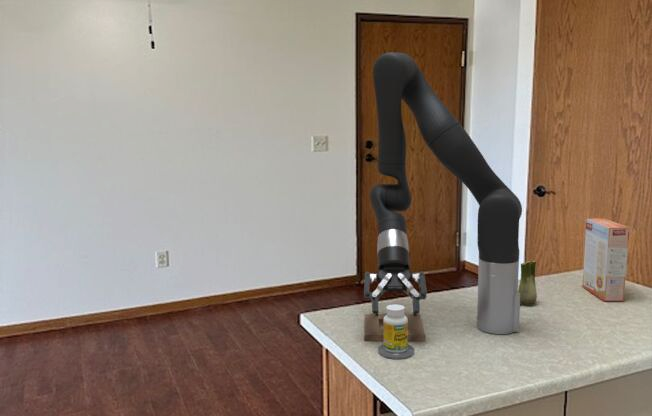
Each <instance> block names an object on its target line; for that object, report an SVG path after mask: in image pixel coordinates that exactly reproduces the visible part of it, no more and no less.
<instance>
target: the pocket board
mask: <svg viewBox="0 0 652 416" xmlns="http://www.w3.org/2000/svg"><path fill="white" fill-rule="evenodd" d="M386 315H387V313H379V314H378V316H375V314H373V313H364V329H363V330H364V332H363V333H364V337H363V338H364V339H363V340H364V342H384V330H383V329H380V325H381V326H382V325H383V319H384V317H385V316H386ZM404 315H405V316H406V317H407V319H408V342H426V332H425V328H424V324H423V320H422V316H421V314H420V313H419V314H417V316H413V313H411V314H410V313H404Z"/></svg>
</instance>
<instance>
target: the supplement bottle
mask: <svg viewBox="0 0 652 416" xmlns="http://www.w3.org/2000/svg"><path fill="white" fill-rule="evenodd" d="M385 311H386V312H385V314H387V315H386V316H385V317H384V319H383V330H384V341H383V344H384V349H385V350H386V351H388V352H391V353H402V352H405V351H406V350H407V348H408V344H409V341H408V319H407V317H406V316H405V315H404V314H406V307H405V306H404V305H401V304H395V303H394V304H389V305H386V308H385Z"/></svg>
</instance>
